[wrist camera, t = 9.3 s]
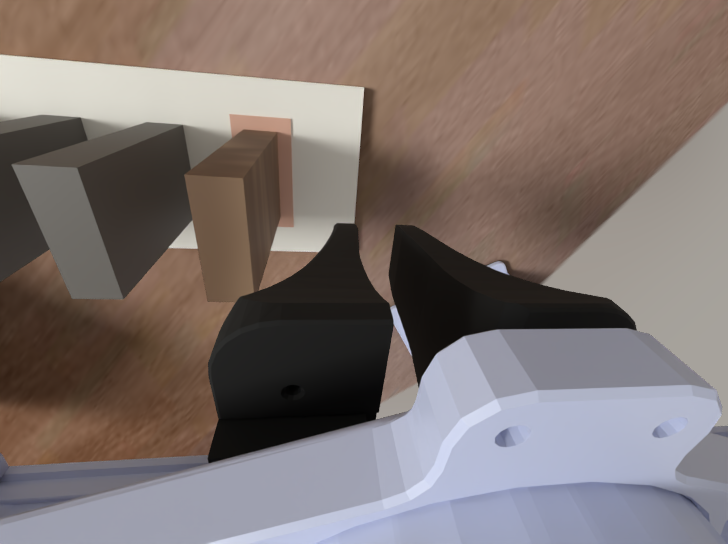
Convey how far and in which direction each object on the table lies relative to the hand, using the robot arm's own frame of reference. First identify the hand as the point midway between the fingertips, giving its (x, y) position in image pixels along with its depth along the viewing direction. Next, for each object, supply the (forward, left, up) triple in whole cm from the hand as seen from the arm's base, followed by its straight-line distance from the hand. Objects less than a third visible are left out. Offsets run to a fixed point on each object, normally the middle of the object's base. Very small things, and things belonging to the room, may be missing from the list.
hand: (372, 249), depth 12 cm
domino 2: (+9, -5, -10) cm, 14 cm away
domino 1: (+5, -2, -10) cm, 11 cm away
